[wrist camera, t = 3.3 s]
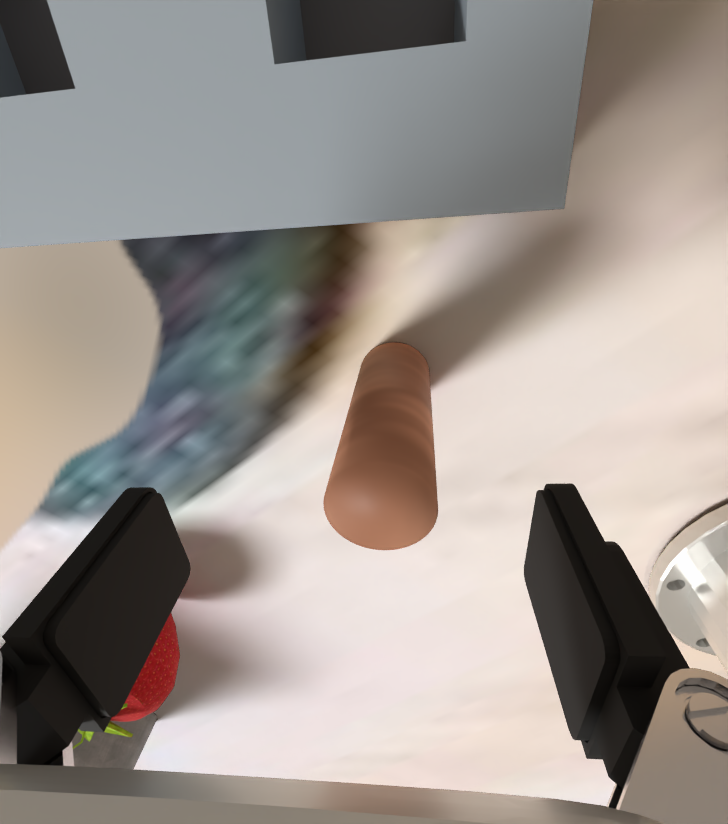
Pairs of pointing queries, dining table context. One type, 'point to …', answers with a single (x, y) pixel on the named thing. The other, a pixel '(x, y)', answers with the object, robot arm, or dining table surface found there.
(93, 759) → the hip flask
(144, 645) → the robot arm
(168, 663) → the strawberry
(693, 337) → the dining table surface
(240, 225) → the hole block
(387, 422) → the pin
